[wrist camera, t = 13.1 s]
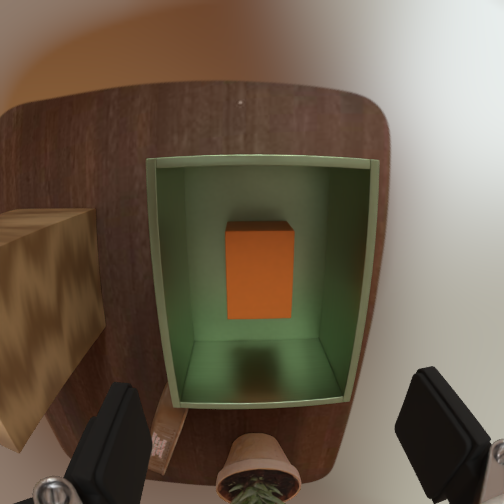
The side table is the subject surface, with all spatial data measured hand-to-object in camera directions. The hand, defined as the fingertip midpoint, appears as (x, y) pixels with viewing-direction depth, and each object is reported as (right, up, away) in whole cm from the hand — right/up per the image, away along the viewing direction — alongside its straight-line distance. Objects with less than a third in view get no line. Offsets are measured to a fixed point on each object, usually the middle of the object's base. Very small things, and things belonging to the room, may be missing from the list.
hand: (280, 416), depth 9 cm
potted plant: (-1, -19, +26) cm, 32 cm away
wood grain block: (-20, +4, +18) cm, 28 cm away
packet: (0, +5, +18) cm, 19 cm away
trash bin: (0, +5, +19) cm, 19 cm away
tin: (-9, -11, +23) cm, 27 cm away
